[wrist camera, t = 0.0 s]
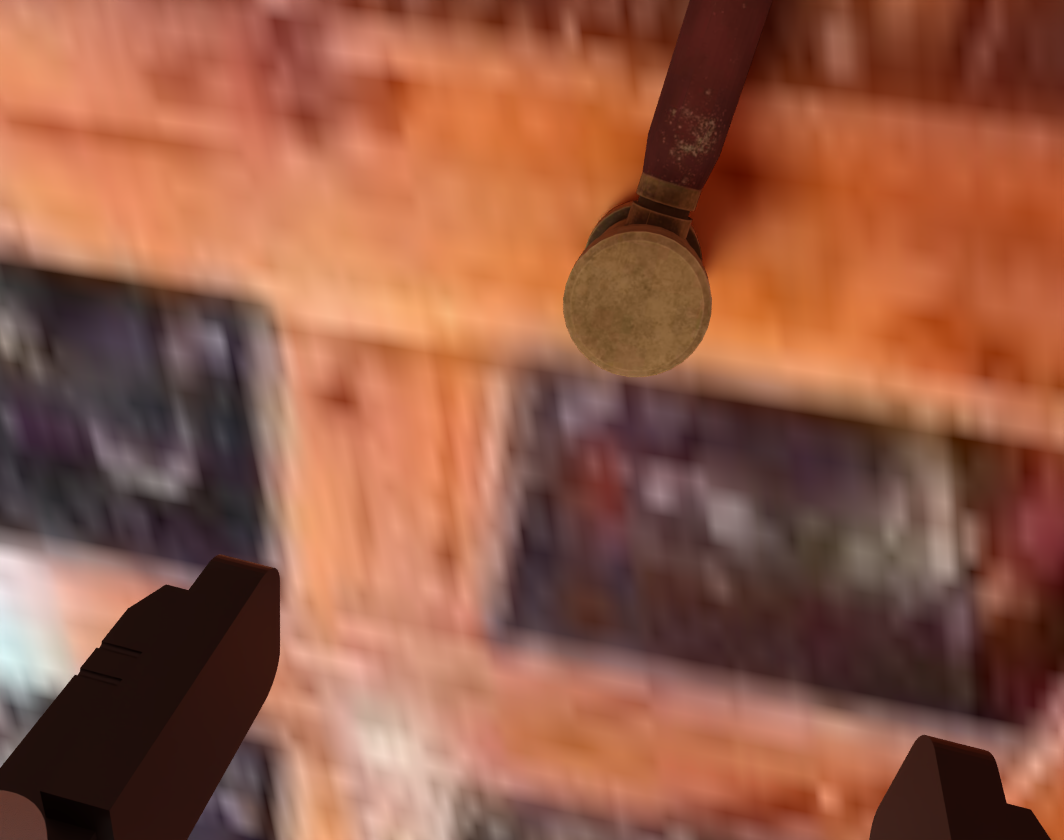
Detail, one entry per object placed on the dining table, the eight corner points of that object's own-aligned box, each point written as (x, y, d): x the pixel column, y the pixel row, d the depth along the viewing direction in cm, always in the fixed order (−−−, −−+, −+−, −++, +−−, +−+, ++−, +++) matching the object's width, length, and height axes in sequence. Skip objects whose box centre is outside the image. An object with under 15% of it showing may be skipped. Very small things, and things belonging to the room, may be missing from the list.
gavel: (749, -289, 33) (783, -443, 24) (878, -251, 33) (965, -392, 23) (572, 293, 40) (544, 354, 31) (679, 326, 40) (683, 397, 31)
